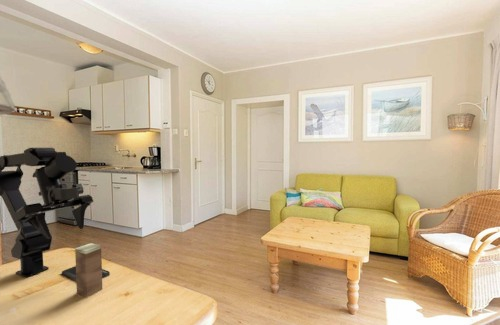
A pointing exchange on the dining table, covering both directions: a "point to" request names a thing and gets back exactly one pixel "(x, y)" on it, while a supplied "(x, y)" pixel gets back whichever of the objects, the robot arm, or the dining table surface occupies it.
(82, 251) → the walnut block
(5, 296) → the dining table surface
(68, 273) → the phone
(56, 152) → the robot arm
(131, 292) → the dining table surface
